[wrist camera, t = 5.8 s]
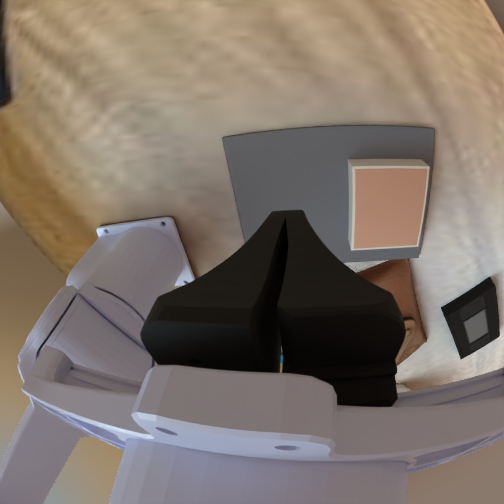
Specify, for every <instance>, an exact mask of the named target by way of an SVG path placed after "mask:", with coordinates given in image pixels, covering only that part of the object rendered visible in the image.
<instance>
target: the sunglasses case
mask: <svg viewBox="0 0 504 504" xmlns="http://www.w3.org/2000/svg"><path fill="white" fill-rule="evenodd" d="M357 274H358V275H360V276H361V277H363V278H365V279H366V280H368V281H369V282H371V283H373V284H375V285H377V286H379V287H381V288H383V289H385V290H387V291H389V292H391V293H392V294H393V296H394V298H395V300H396V302H397V304H398V307H399V309H400V311H401V313H402V316H403V319H404V323H405V328H406V336H405V340H404V342H403V345H402V347H401V349H400V351H399V353H398V355H397V357H396V359H395V360H396V366H398V365H399V364H400V363H401V362H403V361H404V360H405V359H406V358H408V357H409V356H410V355H411V354H412V353H413V352H415V351H416V350H417V349H418V348H419V347H420V346H421V345H422V344H424V343H425V342H426V341H427V338H426V335H425V333H424V330H423V326H422V323H421V318H420V314H419V310H418V306H417V301H416V297H415V293H414V287H413V282H412V276H411V270H410V265H409V262H408V259H393V260H388V261H386V262H383V263H381V264H378V265H376V266H373V267H371V268H368V269H365V270H363V271H361V272H358V273H357Z"/></svg>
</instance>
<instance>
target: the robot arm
mask: <svg viewBox="0 0 504 504" xmlns="http://www.w3.org/2000/svg"><path fill="white" fill-rule="evenodd" d="M162 222H165V224H163V223H162ZM107 230H108V231H107ZM96 231H97V234H98V236H99V238H98V239H97V240H96V241H95V243H94V244H93V245H92V246H91V247H90V248H89V250H88V251H87V252H86V253H85V254H84V255H83V257H82V258H81V259H80V260H79V261H78V263H77V264H76V265H75V266H74V267H73V269H72V270H71V272H70V273H69V275H68V278H67V282H66V286H63V287H62V288H61V289H60V290H59V292H58V293H57V295H56V296H55V297H54V298H53V300H52V301H51V302H50V304H49V305H48V307H47V308H46V310H45V311H44V312H43V314H42V315H41V317H40V318H39V320H38V321H37V323H36V324H35V326H34V327H33V329H32V331H31V332H30V334H29V335H28V337H27V339H26V343H25V344H24V346H23V348H22V350H21V351H20V353H19V355H18V359H19V362H18V370H19V373H20V376H21V378H22V381H23V383H24V384H23V386H22V391H23V392H24V393H25V394H27V395H28V396H29V397H30V400H31V402H30V403H29V405H28V407H27V409H26V411H25V413H24V415H23V416H22V418H21V420H20V422H19V424H18V426H17V428H16V430H15V432H14V434H13V437H12V439H11V441H10V443H9V445H8V448H7V450H6V452H5V454H4V456H3V459H2V461H1V464H0V504H43V502H44V500H45V499H46V497H47V495H48V493H49V491H50V489H51V488H52V486H53V484H54V482H55V480H56V479H57V477H58V475H59V473H60V472H61V470H62V468H63V466H64V465H65V463H66V461H67V460H68V458H69V456H70V455H71V453H72V451H73V449H74V448H75V446H76V444H77V442H78V441H79V440H80V438H82V437H89V436H93V437H95V438H98V439H100V440H102V441H104V442H106V443H108V444H110V445H113V446H115V447H117V448H120V449H122V450H124V454H123V457H122V460H121V463H120V466H119V469H118V472H117V476H116V479H115V482H114V486H113V489H112V492H111V496H110V499H109V503H108V504H407V474H408V473H412V472H416V471H419V470H423V469H426V468H430V467H433V466H436V465H440V464H442V463H446V462H448V461H451V460H454V459H457V458H460V457H462V456H465V455H467V454H470V453H472V452H475V451H477V450H479V449H482V448H484V447H486V446H488V445H490V444H493V443H495V442H497V441H499V440H501V439H503V438H504V367H503V368H501V369H498V370H495V371H492V372H489V373H485V374H482V375H479V376H475V377H472V378H468V379H464V380H460V381H456V382H452V383H448V384H443V385H439V386H434V387H429V388H424V389H418V390H412V391H406V392H400V393H397V388H396V381H395V375H396V373H397V366H396V360H395V359H396V357H397V355H398V353H399V351H400V349H401V347H402V345H403V342H404V340H405V336H406V328H405V323H404V319H403V316H402V313H401V311H400V309H399V307H398V304H397V302H396V300H395V298H394V296H393V294H392V293H391V292H389V291H387V290H385V289H383V288H381V287H379V286H377V285H375V284H373V283H371V282H369V281H368V280H366V279H365V278H363V277H361V276H360V275H358V274H357V273H355V272H354V271H353V270H351V269H350V268H349V267H347V266H346V265H345V264H344V263H342V262H341V261H340V260H339V259H338V258H337V257H336V256H335V255H334V254H333V253H332V252H331V251H330V250H329V249H328V248H327V247H326V245H325V244H324V243H323V242H322V241H321V239H320V238H319V237H318V235H317V234H316V232H315V231H314V229H313V228H312V226H311V225H310V223H309V221H308V219H307V217H306V215H305V212H304V211H303V210H283V211H272V212H271V213H270V214H269V216H268V217H267V218H266V219H265V221H264V222H263V223H262V225H261V226H260V227H259V228H258V229H257V231H256V232H255V233H254V234H253V235H252V236H251V238H250V239H249V240H248V241H247V242H246V243H245V244H244V245H243V246H242V247H241V248H240V249H239V250H237V251H236V252H235V253H234V254H233V255H231V256H230V257H229V258H228V259H227V260H225V261H224V262H222V263H221V264H219V265H218V266H216V267H215V268H214V269H212V270H211V271H209V272H208V273H206V274H204V275H202V276H201V277H199V278H197V279H195V277H194V274H193V271H192V269H191V266H190V264H189V261H188V258H187V256H186V253H185V250H184V247H183V245H182V242H181V239H180V236H179V234H178V231H177V228H176V225H175V222H174V220H173V219H172V218H171V217H162V218H154V219H147V220H140V221H133V222H126V223H119V224H112V225H106V226H100V227H98V228H97V230H96ZM187 281H188V282H187ZM174 286H182V287H179V288H177V289H175V290H173V288H174ZM281 345H282V352H283V365H282V373H280V362H281Z"/></svg>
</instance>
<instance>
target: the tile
mask: <svg viewBox="0 0 504 504" xmlns="http://www.w3.org/2000/svg"><path fill="white" fill-rule="evenodd" d="M429 168H430V166H428V165H427V164H426V163H425V162H424V161H422V160H421V159H348V175H349V229H348V240H349V244H350V248H351V251H353V250H370V249H387V248H404V247H418V245H419V240H420V235H421V229H422V223H423V217H424V211H425V204H426V197H427V188H428V179H429Z"/></svg>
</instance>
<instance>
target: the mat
mask: <svg viewBox="0 0 504 504" xmlns="http://www.w3.org/2000/svg"><path fill="white" fill-rule="evenodd" d="M434 136H435V129H433V128H427V127H413V126H392V125H340V126H318V127H303V128H291V129H281V130H271V131H263V132H255V133H247V134H240V135H234V136H227V137H223V138H222V140H223V145H224V150H225V154H226V159H227V163H228V168H229V173H230V177H231V182H232V186H233V191H234V195H235V200H236V204H237V209H238V213H239V218H240V223H241V227H242V232H243V236H244V241H245V243H246V242H247V241H248V240H249V239H250V238H251V236H252V235H253V234H254V233H255V232H256V231H257V229H258V228H259V227H260V226H261V225H262V223H263V222H264V221H265V219H266V218H267V217H268V216H269V214H270V213H271V212H272V211H283V210H303V211H304V212H305V215H306V217H307V219H308V221H309V223H310V225H311V226H312V228H313V229H314V231H315V232H316V234H317V235H318V237H319V238H320V239H321V241H322V242H323V243H324V244H325V245H326V247H327V248H328V249H329V250H330V251H331V252H332V253H333V254H334V255H335V256H336V257H337V258H338V259H339V260H340V261H341V262H342V263H345V262H362V261H378V260H393V259H408V258H419V253H420V249H421V244H422V239H423V234H424V229H425V223H426V217H427V211H428V204H429V197H430V189H431V180H432V170H433V157H434ZM348 159H421V160H422V161H424V162H425V163H426V164H427V165H428V166H430V168H429V179H428V188H427V197H426V204H425V211H424V217H423V223H422V229H421V235H420V240H419V245H418V247H404V248H387V249H370V250H353V251H351V248H350V244H349V240H348V229H349V175H348Z"/></svg>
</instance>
